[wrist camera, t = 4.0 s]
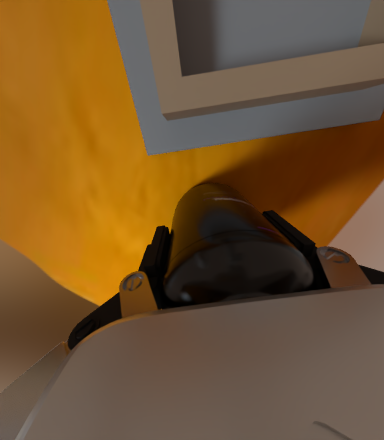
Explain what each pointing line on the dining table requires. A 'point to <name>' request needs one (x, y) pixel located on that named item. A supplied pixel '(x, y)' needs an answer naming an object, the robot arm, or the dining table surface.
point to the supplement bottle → (227, 252)
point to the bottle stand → (249, 67)
